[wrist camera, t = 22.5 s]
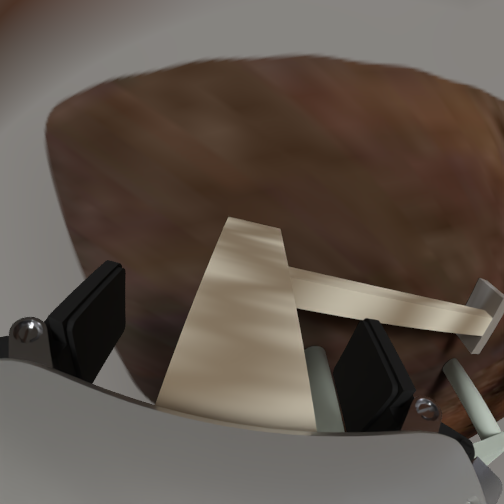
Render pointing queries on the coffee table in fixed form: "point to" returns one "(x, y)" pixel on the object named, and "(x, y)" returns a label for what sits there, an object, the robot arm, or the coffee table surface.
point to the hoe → (285, 330)
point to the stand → (468, 394)
